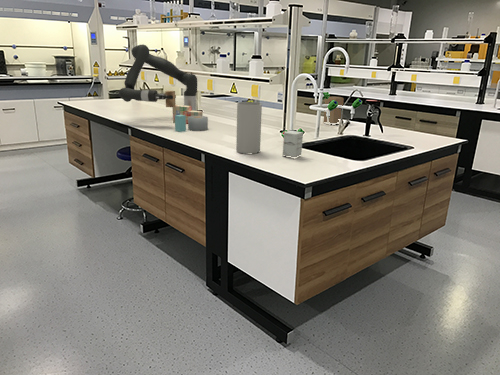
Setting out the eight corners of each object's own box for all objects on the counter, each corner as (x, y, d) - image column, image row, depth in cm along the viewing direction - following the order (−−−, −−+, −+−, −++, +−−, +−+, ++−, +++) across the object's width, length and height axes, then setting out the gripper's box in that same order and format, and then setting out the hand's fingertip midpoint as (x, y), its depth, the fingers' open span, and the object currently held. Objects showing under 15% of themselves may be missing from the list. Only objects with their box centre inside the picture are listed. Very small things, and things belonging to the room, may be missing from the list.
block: (333, 125, 293) (335, 98, 287) (322, 123, 300) (325, 96, 294) (341, 124, 299) (344, 97, 293) (331, 122, 306) (333, 96, 300)
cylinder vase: (235, 148, 214) (236, 101, 205) (258, 149, 214) (260, 102, 206) (236, 154, 202) (237, 104, 194) (261, 154, 203) (263, 105, 195)
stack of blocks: (202, 124, 283) (202, 107, 279) (198, 125, 278) (198, 107, 274) (177, 121, 291) (177, 104, 287) (172, 122, 286) (172, 105, 282)
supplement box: (281, 156, 200) (283, 132, 195) (289, 154, 205) (290, 130, 201) (295, 159, 196) (296, 134, 192) (301, 156, 202) (303, 131, 198)
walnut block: (165, 107, 260) (165, 91, 257) (168, 106, 265) (167, 90, 261) (173, 107, 259) (172, 91, 256) (175, 106, 264) (175, 91, 261)
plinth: (184, 128, 265) (184, 116, 262) (200, 126, 273) (200, 114, 270) (195, 131, 256) (195, 119, 253) (211, 129, 264) (211, 117, 261)
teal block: (175, 130, 257) (174, 115, 254) (181, 129, 260) (181, 114, 257) (179, 131, 253) (178, 116, 250) (186, 131, 257) (185, 115, 253)
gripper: (144, 91, 254) (170, 92, 252) (153, 89, 267) (177, 89, 265) (145, 102, 256) (171, 103, 254) (153, 100, 270) (177, 101, 267)
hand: (174, 96), depth 260 cm, fingers closed on walnut block, 5 cm apart
